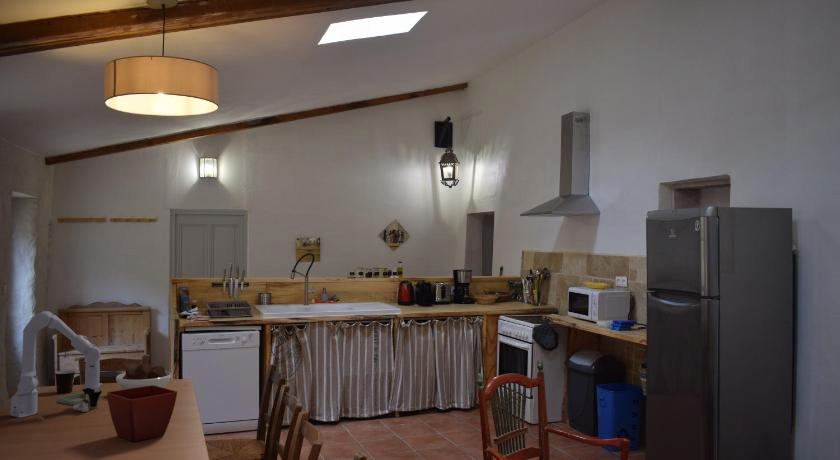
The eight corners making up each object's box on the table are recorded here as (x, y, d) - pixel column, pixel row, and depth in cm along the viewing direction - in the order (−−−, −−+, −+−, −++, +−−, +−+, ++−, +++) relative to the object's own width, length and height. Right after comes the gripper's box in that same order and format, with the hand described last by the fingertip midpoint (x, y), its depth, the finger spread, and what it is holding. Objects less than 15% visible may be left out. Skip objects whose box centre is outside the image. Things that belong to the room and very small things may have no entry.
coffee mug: (68, 394, 321) (68, 373, 321) (50, 394, 321) (51, 373, 322) (81, 389, 333) (81, 369, 333) (64, 389, 333) (64, 369, 333)
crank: (71, 409, 289) (72, 397, 289) (80, 408, 292) (80, 395, 292) (83, 413, 282) (83, 401, 283) (92, 412, 285) (92, 399, 285)
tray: (74, 407, 297) (75, 401, 297) (56, 403, 303) (56, 398, 303) (100, 401, 309) (100, 395, 309) (82, 397, 315) (82, 392, 315)
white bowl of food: (115, 391, 329) (116, 360, 330) (169, 387, 340) (169, 357, 340) (115, 402, 307) (116, 369, 307) (173, 397, 317) (173, 366, 318)
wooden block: (88, 409, 290) (88, 396, 290) (85, 407, 293) (85, 394, 293) (97, 408, 293) (98, 394, 293) (94, 406, 296) (95, 392, 296)
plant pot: (152, 426, 268) (152, 384, 269) (177, 435, 256) (178, 391, 257) (104, 436, 254) (105, 392, 254) (129, 446, 241) (130, 400, 242)
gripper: (107, 376, 291) (106, 407, 290) (96, 371, 301) (96, 401, 301) (90, 378, 286) (89, 409, 286) (80, 373, 296) (79, 403, 296)
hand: (91, 405), depth 293 cm, fingers open, 4 cm apart
